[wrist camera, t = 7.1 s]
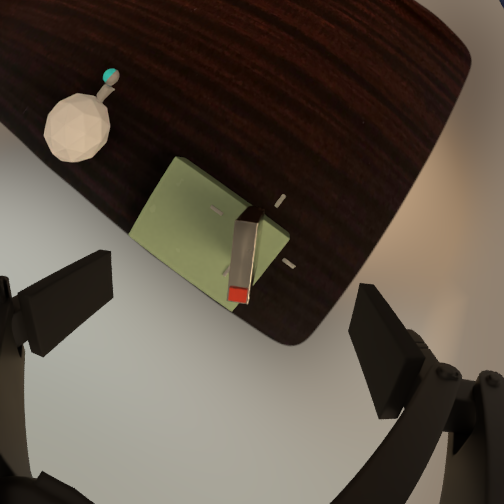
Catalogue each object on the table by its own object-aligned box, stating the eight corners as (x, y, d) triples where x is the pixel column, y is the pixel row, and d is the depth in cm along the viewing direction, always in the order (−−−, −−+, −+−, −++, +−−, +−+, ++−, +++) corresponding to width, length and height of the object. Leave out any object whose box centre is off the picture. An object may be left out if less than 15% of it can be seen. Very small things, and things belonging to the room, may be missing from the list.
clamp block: (322, 222, 32) (326, 227, 29) (250, 310, 35) (247, 323, 32) (200, 134, 31) (192, 130, 28) (139, 229, 34) (127, 235, 31)
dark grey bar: (248, 205, 29) (234, 220, 20) (264, 207, 29) (257, 223, 20) (241, 264, 31) (225, 302, 22) (257, 267, 31) (247, 306, 22)
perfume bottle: (38, 144, 29) (84, 59, 27) (90, 168, 34) (136, 86, 32) (25, 152, 23) (83, 46, 21) (90, 180, 28) (147, 79, 26)
